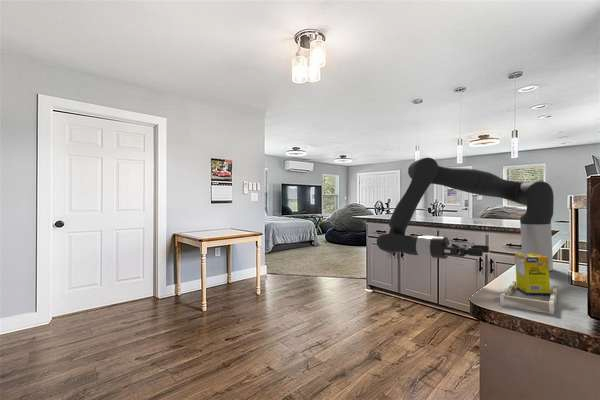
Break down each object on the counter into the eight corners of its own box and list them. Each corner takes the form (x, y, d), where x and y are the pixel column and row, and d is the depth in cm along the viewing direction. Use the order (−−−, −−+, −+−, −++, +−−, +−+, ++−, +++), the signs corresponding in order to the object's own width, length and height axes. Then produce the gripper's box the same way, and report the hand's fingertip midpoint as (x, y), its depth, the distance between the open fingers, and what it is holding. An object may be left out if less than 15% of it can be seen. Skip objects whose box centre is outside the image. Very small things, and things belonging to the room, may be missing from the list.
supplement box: (551, 296, 83) (549, 256, 84) (526, 295, 85) (525, 257, 85) (538, 289, 89) (536, 253, 89) (516, 289, 91) (514, 253, 91)
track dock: (513, 285, 94) (512, 277, 94) (557, 291, 87) (557, 282, 87) (500, 305, 78) (500, 295, 78) (553, 314, 71) (553, 303, 71)
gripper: (424, 238, 100) (480, 241, 89) (439, 234, 111) (490, 236, 100) (425, 260, 100) (480, 266, 89) (439, 254, 111) (490, 259, 100)
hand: (485, 251), depth 95 cm, fingers open, 8 cm apart
